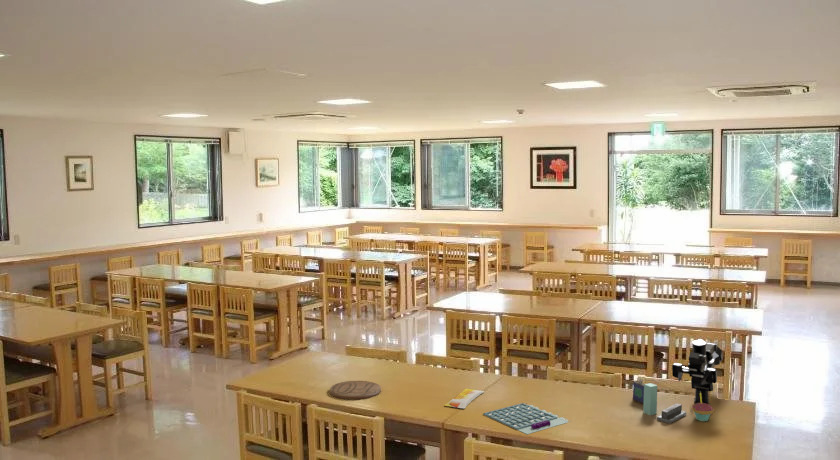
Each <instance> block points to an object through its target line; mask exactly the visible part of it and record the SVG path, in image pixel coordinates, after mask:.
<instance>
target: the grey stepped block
mask: <svg viewBox="0 0 840 460" xmlns="http://www.w3.org/2000/svg"><path fill="white" fill-rule="evenodd" d="M685 416H687V411H684V410H683V404H680V403H674V404H672V405H671V406H669V407H666V408H665V409H663V410H661V414H660V415H657V417H656V420H657V421H659V422H662V423H666V424H669V425H670V424H672V423H674V422H676V421H677V420H680V419H682V418H683V417H685Z"/></svg>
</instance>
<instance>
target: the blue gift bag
mask: <svg viewBox="0 0 840 460" xmlns="http://www.w3.org/2000/svg"><path fill="white" fill-rule="evenodd" d="M643 381H644V380H643V379H638V380H633V387H632V388H633V389H632V400H633V401H634V402H635V403H636V402H637V403H639V404H642V405H644V384H645V383H643Z"/></svg>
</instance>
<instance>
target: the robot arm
mask: <svg viewBox="0 0 840 460" xmlns="http://www.w3.org/2000/svg"><path fill="white" fill-rule="evenodd" d="M691 345H692V348H691V349H692V350H691V351H692V352H690V353H689V356H688V363H687V367H685V366H683V364H682V363H678V362H674V363H673V364H672V366H671V371H672V372H671V373H672V377H674V378H675V379H676V378H677V381H679V382H680V381H682V379H683V374H688V375H689V377H690V378H691V379H690V382H691V389H694V390H695V391H694V392H695V393H694V395H695V396H694V398H693V402H694V404H697V403H700V392H701V396H702V403H705V404H709V405H710V398H709V392H713V391H714V384H717V381H718V370H717V369H716V368H715V366H719V365H720V364H721V363H722V361H723V360H724V352H723V350H722V349H721V348H719V346H718V343H713V342H706V341H705V340H704V339H701V338H698V339H695V340H693V341H692V344H691Z"/></svg>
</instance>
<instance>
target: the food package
mask: <svg viewBox="0 0 840 460" xmlns="http://www.w3.org/2000/svg"><path fill="white" fill-rule="evenodd" d="M484 393H485V390H478V389H471V388H465V389H463V390H462V391H461V392H460V393H459V394H458V395H456V396H455V397H453V398H452V399H451V400H449V401H448V402H447V403H445V404H444V407H452V408H457V409H463V410H464V409H466V407H467V406H468V405H469V404H470V403H471V402H473V401H474V400H475V399H477V398H478V397H479V396H481V395H482V394H484Z"/></svg>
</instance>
